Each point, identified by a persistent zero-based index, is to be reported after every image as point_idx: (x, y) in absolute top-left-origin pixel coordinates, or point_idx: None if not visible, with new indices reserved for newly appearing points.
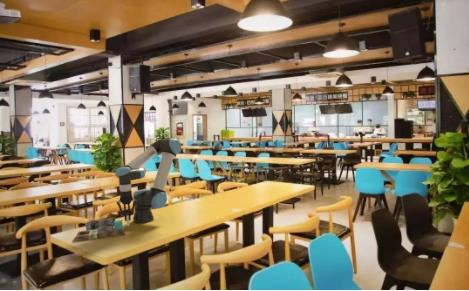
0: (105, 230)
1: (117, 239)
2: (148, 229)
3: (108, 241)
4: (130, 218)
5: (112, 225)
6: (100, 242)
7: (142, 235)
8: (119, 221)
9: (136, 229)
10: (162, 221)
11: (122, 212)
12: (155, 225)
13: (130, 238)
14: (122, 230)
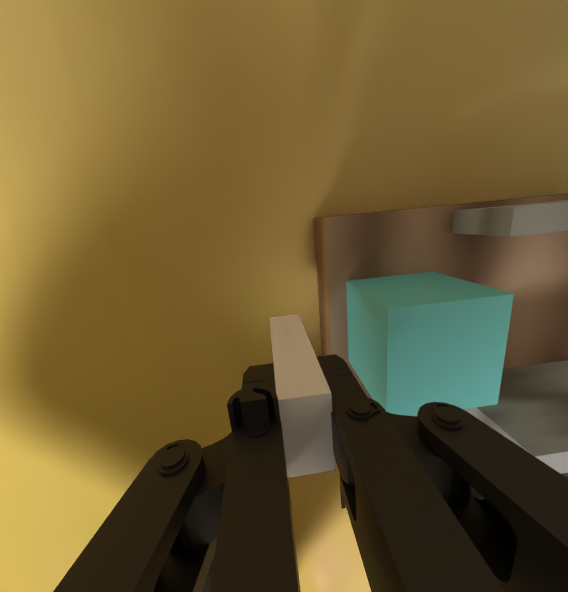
0: (556, 201)
1: (372, 63)
2: (84, 337)
3: (465, 19)
4: (244, 386)
5: None
6: (544, 18)
7: (96, 115)
8: (425, 346)
9: (214, 374)
10: (9, 546)
11: (502, 488)
12: (44, 448)
13: (226, 36)
14: (341, 224)
